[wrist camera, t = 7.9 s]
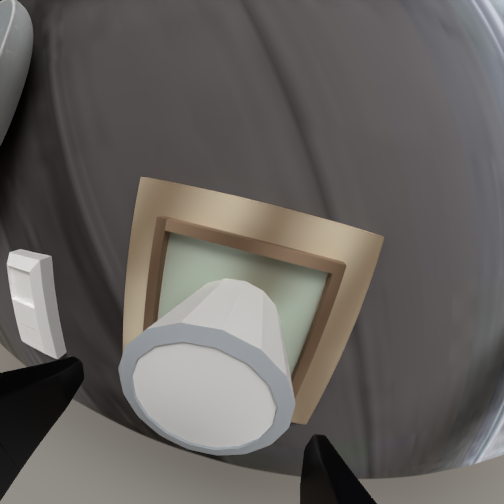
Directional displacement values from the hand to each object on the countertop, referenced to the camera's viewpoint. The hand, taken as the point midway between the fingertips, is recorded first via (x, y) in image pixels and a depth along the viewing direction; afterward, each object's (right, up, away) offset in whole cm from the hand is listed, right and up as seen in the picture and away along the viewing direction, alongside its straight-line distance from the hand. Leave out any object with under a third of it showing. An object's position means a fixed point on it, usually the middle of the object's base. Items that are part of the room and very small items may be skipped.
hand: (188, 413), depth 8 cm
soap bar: (-17, +1, +11) cm, 20 cm away
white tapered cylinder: (+1, +2, +8) cm, 8 cm away
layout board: (+1, +2, +8) cm, 9 cm away
